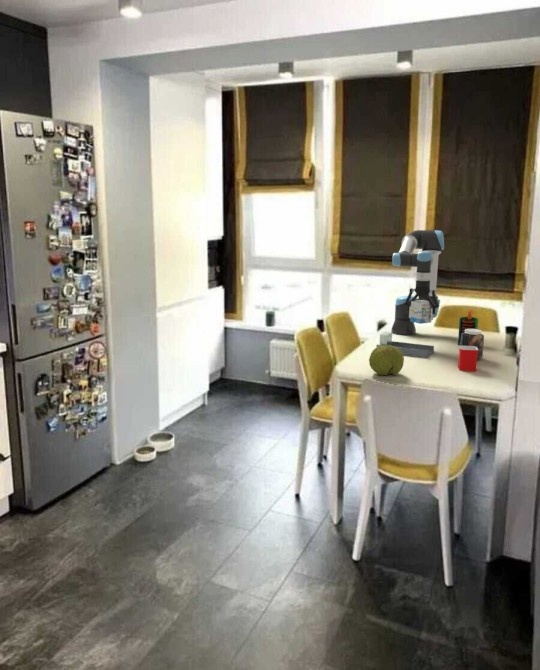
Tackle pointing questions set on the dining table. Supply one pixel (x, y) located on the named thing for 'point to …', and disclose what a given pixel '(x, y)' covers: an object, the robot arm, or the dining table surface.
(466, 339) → the jar
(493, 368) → the dining table surface
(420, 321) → the ink box
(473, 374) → the dining table surface
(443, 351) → the dining table surface
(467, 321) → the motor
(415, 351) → the rail cradle
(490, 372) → the dining table surface
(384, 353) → the fruit
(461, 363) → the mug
